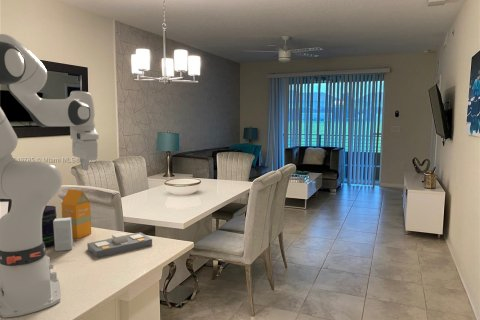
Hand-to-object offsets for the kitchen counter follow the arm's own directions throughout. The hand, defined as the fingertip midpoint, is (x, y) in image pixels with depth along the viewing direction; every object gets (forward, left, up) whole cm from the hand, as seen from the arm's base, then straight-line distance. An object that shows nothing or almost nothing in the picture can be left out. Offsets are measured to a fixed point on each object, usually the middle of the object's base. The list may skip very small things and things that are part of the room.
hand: (84, 169), depth 141 cm
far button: (-8, -17, -31) cm, 36 cm away
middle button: (-8, -10, -29) cm, 31 cm away
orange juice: (+19, -1, -31) cm, 37 cm away
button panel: (-8, -10, -31) cm, 34 cm away
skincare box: (+4, +8, -31) cm, 33 cm away
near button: (-8, -3, -31) cm, 32 cm away
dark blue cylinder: (+14, +13, -31) cm, 37 cm away
